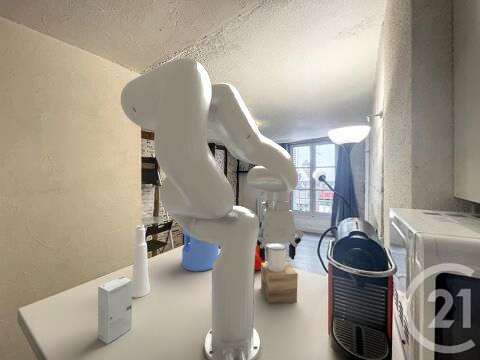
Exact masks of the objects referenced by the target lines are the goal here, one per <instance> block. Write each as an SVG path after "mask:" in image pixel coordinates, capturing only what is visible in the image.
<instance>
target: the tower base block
mask: <svg viewBox="0 0 480 360" xmlns="http://www.w3.org/2000/svg"><path fill="white" fill-rule="evenodd" d="M260 289H261V292H262V294H263V295H264V297H265V299H266V301H267V305H277V304H288V303H298V287H297V288H293V289H282V290H270V291H269V289H268V288H267V286H266V284H265V282H264V280H263V279H262V277H261V276H260Z"/></svg>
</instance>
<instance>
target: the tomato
mask: <svg viewBox="0 0 480 360" xmlns="http://www.w3.org/2000/svg"><path fill="white" fill-rule="evenodd" d="M266 261H267V257H265V260H264V261H262V259H261V257H259V246H258V245H256V252H255V264H254V271H259V270H260V271H261V263H266Z"/></svg>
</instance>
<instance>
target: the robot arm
mask: <svg viewBox="0 0 480 360" xmlns="http://www.w3.org/2000/svg"><path fill="white" fill-rule="evenodd" d="M120 105H121V109H122V110H123V113H124V114H125V116H126V117H127V118H128V119H129V120H130V121H131V122H132V123H133V124H135V125H136V126H138V127H140V128H143V129H147V130H153V131H154V139H153V141H154V142H153V145H154V147H153V148H154V155H155V158H156V161H157V164H158V166H159V167H160V170H161V171H162V172H163V174H164V175H165V176H166V177H165V178H164V179H163V181H161V185H160V188H159V199H160V202H161V204H162V206H163V209H164V211H165V212H166V213H167V214H168V215H169V217H171V218H172V219H173V220H174V222H176V223H177V224H178V225H179V226H180V228H183V229H184V230H185V231H186V232H187V233H188V234H189V235H190V236H191V237H193V238H194V239H196V240H198V241H201V242H204V243H208V244H212V245H215V246H218V248H219V249H220V251H219V253H218V257H217V258H216V260H215V261H214V263H213V267H212V269H211V329H210V330H209V331H208V332H207V334H206V336H205V338H204V346H203V347H204V353H205V356H206V357H207V359H208V360H256V359H257V358H258V357H259V354H260V351H261V337H260V335H259V333H258V331H257V330H256V329H255V326H254V325H255V324H254V323H255V321H254V320H255V318H254V317H255V270H254V264H255V252H256V245H258V246H259V257H261V259H262V261H264V260H265V258H266V245H267V244H271V243H278V244H286V243H287V244H288V258H290V259H291V260H292V261H293V260H295V256H296V252H297V251H296V250H297V249H296V248H297V247H298V245H299V243H300V242H302V239H303V237H304V234H305V233H304V232H303V231H301V230H299V229H298V228H296V227H295V226H296V225H295V218H294V212H293V210H291V193H292V192H293V191H294V190H295V189H296V188H297V186H298V182H299V176H298V171H297V168H296V166H295V163H294V161H293V159H292V156H291V154H289V153H288V152H287V150H286V149H285V148H283V147H282V146H281V145H279V144H277V143H275V142H274V141H273V140H271V139H269V138H267V137H265V136H264V135H262V134H261V133H260V131H259V129H258V127H257V125H256V123H255V122H254V120H253V118H252V117H251V114H250V111H248V108H247V107H246V105H245V102H244V101H243V99H242V98H241V95H240V93H239V91H238V90H237V89H236V88H235V87H234V86H233V85H231V84H229V83H227V82H226V83H225V82H216V83H213V84H211V81H210V78H209V75H208V73H207V71H206V70H205V68H204V67H203V65H201V63H200V62H198V61H196V60H194V59H191V58H177V59H174V60H170V61H168V62H165V63H163V64H161V65H158V66H157V67H154V68H152V69H151V70H149V71H147V72H146V73H144V74H141V75H139V76H138V77H137V76H136V77H135V78H133V79H132V80H130V81H129V82H127V83H126V85H125V86H124V87H123V88H122V91H121V93H120ZM207 130H211V131H213V132H214V133H215V134H216V136H217V137H218V139H219V140H220V141H221V142H222V144H223V145H224V146H225V148H226V149H227V151H228V152H229V153H230V155H231V156H232V157H234V159H237V160H239V161H242V162H245V163H248V164H251V165H255V166H254V167H252V168H251V169H250V170H249V171H248V172H247V175H246V183H247V185H248V187H249V188H250V189H252V190H254V191H257V192H266V194H265V196H266V197H265V200H264V201H263V202H261V207H264V208H265V209H263V215H262V221H261V227H260V220H259V217H258V215H257V214H256V213H255V212H254V211H253V210H251V209H250V208H247V207H244V206H241V205H236V204H235V203H236V197H235V193H234V192H235V191H234V190H233V187H232V185H231V184H230V182H229V180H228V178H227V176H226V175H225V173H224V171H223V170H222V168H221V166H220V164H218V162H217V160H216V158H215V157H214V154H213V152H212V151H211V149H210V146H209V144H208V140H207ZM296 234H297V235H296ZM259 235H260V236H261V238H260V240H259V239H258V238H259ZM265 261H266V260H265Z"/></svg>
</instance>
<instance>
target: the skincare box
mask: <svg viewBox="0 0 480 360" xmlns="http://www.w3.org/2000/svg"><path fill="white" fill-rule="evenodd" d="M132 298H133V297H132V279H130V278H127V277H124V276H120V277H118V278H115V279H113V280H110V281H108V282H105V283H104V284H101V285H99V286H97V338H98V339H99V340H101V341H102V342H103V343H105V344H106V345H108V344H110V343H112V342H113V341H115V340H116V339H118V338H119V337H121V336H122V335H124V334H125V333H127V332H128V331H130V330H131V328H132V326H133V325H132V324H133V323H132V322H133V321H132V320H133V318H132V317H133V316H132V315H133V313H132V311H133V309H132V308H133V307H132V306H133V305H132V304H133V303H132V302H133V299H132Z"/></svg>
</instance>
